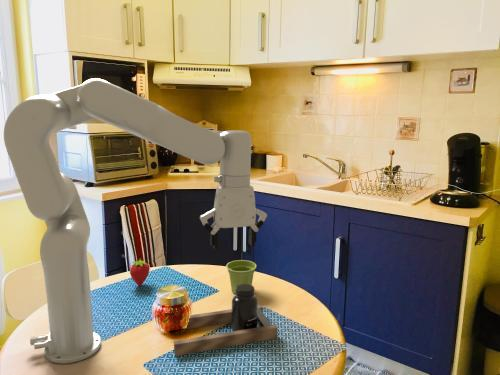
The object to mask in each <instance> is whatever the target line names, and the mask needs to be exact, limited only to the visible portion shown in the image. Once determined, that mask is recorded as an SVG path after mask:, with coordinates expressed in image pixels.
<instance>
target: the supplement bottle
mask: <svg viewBox="0 0 500 375" xmlns="http://www.w3.org/2000/svg"><path fill="white" fill-rule="evenodd" d="M258 305H259V301H258V298H257V296H256V295H255V287H254V285H253V284H252V285H249V284H241V285H238V286H237V287H236V293H235V294H234V296H233V298H231V309H232V321H231V322H230V324H231V332H233V331H239V330H245V329H251V328H257V315H258Z"/></svg>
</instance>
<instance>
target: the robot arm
mask: <svg viewBox="0 0 500 375" xmlns="http://www.w3.org/2000/svg"><path fill="white" fill-rule="evenodd" d="M93 120H94V121H95V120H97V121H100V122H103V123H105V124H108V125H110V126H113V127H115V128H117V129H118V130H122V131H125V132H127V133H129V134H131V135H133V136H135V137H137V138H140V139H143V140H145V141H146V142H149V143H151V144H155V145H158V146H160V147H163V148H165V149H167V150H169V151H171V152H174V153H176V154H177V155H181V156H182V157H185V158H187V159H191V160H192V161H194V162H197V163H200V164H202V165H215V164H217V163H219V174H218V176H214V177H213V182H214V183H218V184H219V185H217V186H216V189H215V190H216V191H215V194H214V202H213V203H214V204H213V208H212V209H211V210H209V211H207V212H205V213H204V214H201V215H199V220H200V221H201V223H202V225H203V227H204V228H205V229H206V231H208V232H209V233H210V237H209V238H210V243H209V244H210V246H211V247H212V248H213V249H214V251H215V250H216V251H217V250H218V246H219V235H218V231H219V230H221V228H222V229H229V228H231V229H232V228H233V229H234V228H242V227H243V228H245V227H249V229H248V242H247V243H248V245H250V247H251V248H255V243H256V242H257V235H258V234H257V232H259V230H260V228H261V227H262V226H264V222H265V220H266V219H267V217H268V214H267V213H266V212H264V211H263V210H261V209H259V208H256V197H255V190H254V186H252V185H251V169H252V168H251V165H252V164H251V162H252V160H251V159H252V135H251V133H250V132H249V131H246V130H232V129H230V130H225V131H224V130H216V129H215V130H214V129H207V128H205V127H202V126H201V125H198V124H196V123H195V122H191V121H190V120H187V119H185V118H183V117H182V116H179V115H176V114H175V113H173V112H171V111H170V110H168V109H167V108H165V107H164V106H162V105H159V104H158V103H157V102H153V101H152V100H149V99H147V98H144V97H142V96H140V95H137V94H135V93H133V92H131V91H129V90H127V89H124V88H122V87H120V86H118V85H116V84H113V83H111V82H108V81H107V80H105V79H101V78H98V77H97V78H96V77H95V78H89V79H87V80H85V81H84V82H83V83H82V84H80V85H76V86H74V87H70V88H67V89H64V90H60V91H56V92H53V93H50V94H37V95H33V96H29V97H27V98H26V99H24V100H22V101H21V102H20V103H18V105H16V107H14V108H13V109H12V111H11V112H10V114H8V116H7V118H6V120H5V123H4V127H3V141H4V146H5V150H6V152H7V154H8V158H9V160H10V163H11V165H12V168H13V170H14V174H15V176H16V179H17V182H18V185H19V188H20V190H21V193H22V194H23V198H24V200H25V203H26V206H27V209H28V211H29V212H30V213H31V214H32V216H34V217H35V218H37V219H39V220H41V221H44V223H45V224H46V227H47V228H46V231H45V232H44V233H43V236H42V238H41V240H40V245H39V246H40V247H39V254H40V255H39V256H40V261H41V266H42V270H43V275H44V276H43V277H44V286H45V294H46V304H47V315H48V323H49V326H48V328H49V332H48V333H45V335H35V336H31V337H29V338H30V339H29V344H30V346H34V347H33V348H34V350H40V349H43V348H44V357H45V358H46V359H47V361H49V362H52V363H56V364H71V363H76V362H77V363H78V362H80V361H83V360H86V359H88V358H90V357H91V356H92V355H94V354H95V353H97V351H98V350H99V349H100V347H101V344H102V342H101V340H102V339H101V335H99V334H98V333H96V332H95V331H94V324H93V322H94V320H93V309H92V296H91V295H92V292H91V283H90V282H91V280H90V268H89V261H88V260H89V259H88V244H89V239H90V236H91V225H90V223H89V220H88V217H87V214H86V210H85V208H84V205H83V202H82V200H81V197H80V194H79V191H78V188H77V187H76V184H75V183H74V180H73V179H72V178H70V177H69V176H68V174H65V173H63V172H61V171H60V168H59V166H58V162H57V159H56V156H55V154H54V151H53V150H52V148H51V144H50V138H51V136H52V135H54V134H56V133H59V132H60V131H61V132H62V131H63V130H66V129H69V128H71V127H75V126H79V125H81V124H84V123H88V122H91V121H93ZM257 216H259V217H258V219H257V220H256V218H257ZM211 218H213V223H212V224H211V225H210V223H209V222H208V220H209V219H211Z"/></svg>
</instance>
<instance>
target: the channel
mask: <svg viewBox="0 0 500 375" xmlns="http://www.w3.org/2000/svg"><path fill="white" fill-rule="evenodd" d="M263 311H264V308H263V306H262V304H258V315H257V328H251V329H245V330H239V331H227V332H221V333H215V334H209V335H203V336H197V337H191V338H185V339H179V340H174V341H173V354H174V357H177V356H178V357H179V356H182V355H188V354H195V353H200V352H206V351H211V350H217V349H224V348H228V347H234V346H240V345H246V344H252V343H258V342H264V341H269V340H275V339H278V325H276V324H272V323H271V322H270V321H269V319H268V318H267V316H266V315H265V313H264V312H263ZM190 315H191V316H190V318H189V322H188V325H187V328H186V329H185V330H191V329H196V328H201V327H210V326H215V325H221V324H227V323H228V324H229V323H231V321H232V308H229V309H223V310H217V311H210V312H203V313H198V314H190Z"/></svg>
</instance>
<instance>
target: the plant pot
mask: <svg viewBox="0 0 500 375" xmlns="http://www.w3.org/2000/svg"><path fill="white" fill-rule="evenodd" d="M225 267H226V269H227V272H228V275H229V281H230V287H231V293H232V294H236V287H237V286H238V285H241V284H249V285H252V286H253V279H254V273H255V272H256V271H255V270H256V269H257V264H256V263H255V262H254V261H251V260H245V259H244V260H243V259H239V260H232V261H230V262H227V264H226V265H225Z"/></svg>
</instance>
